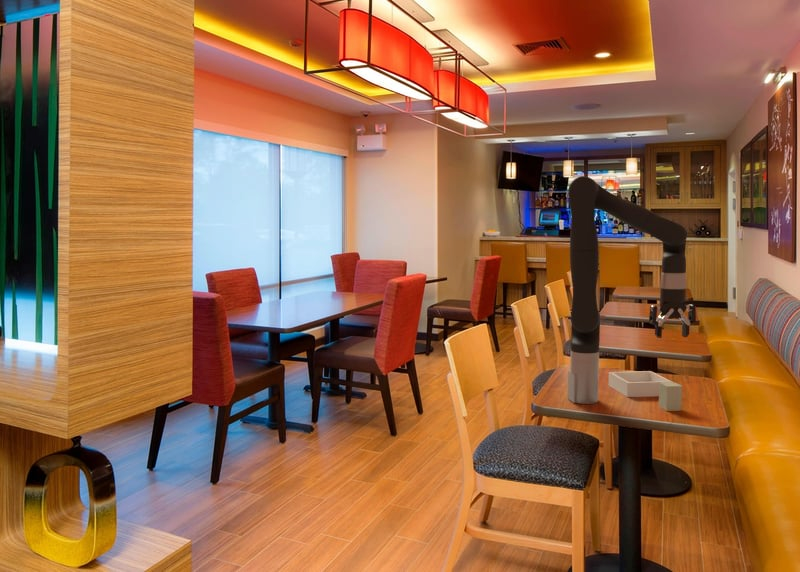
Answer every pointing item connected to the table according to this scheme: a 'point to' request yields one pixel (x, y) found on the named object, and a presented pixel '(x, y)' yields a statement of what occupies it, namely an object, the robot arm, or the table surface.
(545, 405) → the table surface
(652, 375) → the serving bin
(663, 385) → the cream block
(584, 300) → the robot arm
